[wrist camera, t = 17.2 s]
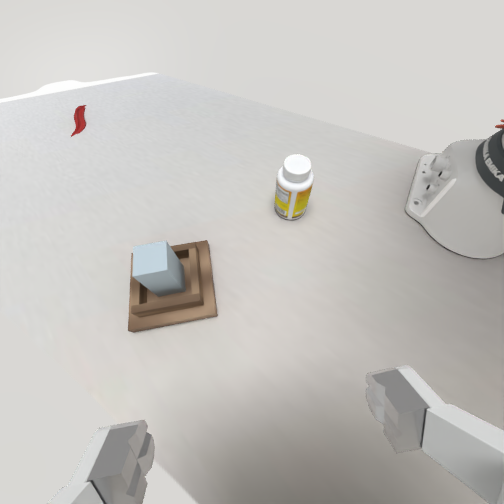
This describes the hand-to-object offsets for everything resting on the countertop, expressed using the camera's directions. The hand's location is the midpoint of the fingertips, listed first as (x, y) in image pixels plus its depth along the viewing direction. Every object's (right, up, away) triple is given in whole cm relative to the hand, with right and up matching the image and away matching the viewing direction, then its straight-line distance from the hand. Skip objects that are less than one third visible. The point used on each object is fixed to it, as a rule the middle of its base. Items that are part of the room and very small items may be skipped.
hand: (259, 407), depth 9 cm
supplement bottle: (+6, +13, +35) cm, 38 cm away
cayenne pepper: (-40, +36, +48) cm, 73 cm away
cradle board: (-12, +1, +28) cm, 31 cm away
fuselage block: (-12, +1, +27) cm, 30 cm away
